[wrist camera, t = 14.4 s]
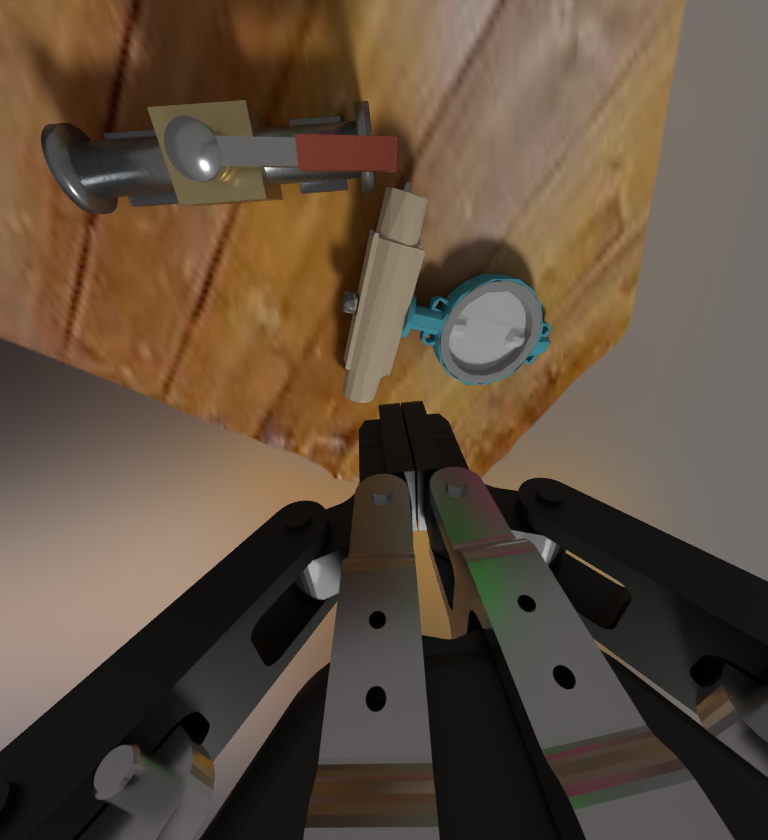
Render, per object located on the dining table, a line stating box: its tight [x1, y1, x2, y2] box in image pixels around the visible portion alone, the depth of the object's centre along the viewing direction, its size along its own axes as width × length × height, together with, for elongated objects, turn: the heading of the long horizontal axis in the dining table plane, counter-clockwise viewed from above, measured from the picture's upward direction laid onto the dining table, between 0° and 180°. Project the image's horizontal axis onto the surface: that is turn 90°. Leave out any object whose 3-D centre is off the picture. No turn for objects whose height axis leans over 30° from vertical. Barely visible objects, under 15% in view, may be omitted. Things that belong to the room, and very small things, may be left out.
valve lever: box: [164, 116, 398, 183], centre depth 28 cm, size 18×4×2 cm, turn 89°
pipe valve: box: [41, 100, 374, 214], centre depth 33 cm, size 28×7×10 cm, turn 94°
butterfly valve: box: [341, 182, 551, 403], centre depth 46 cm, size 27×7×30 cm
